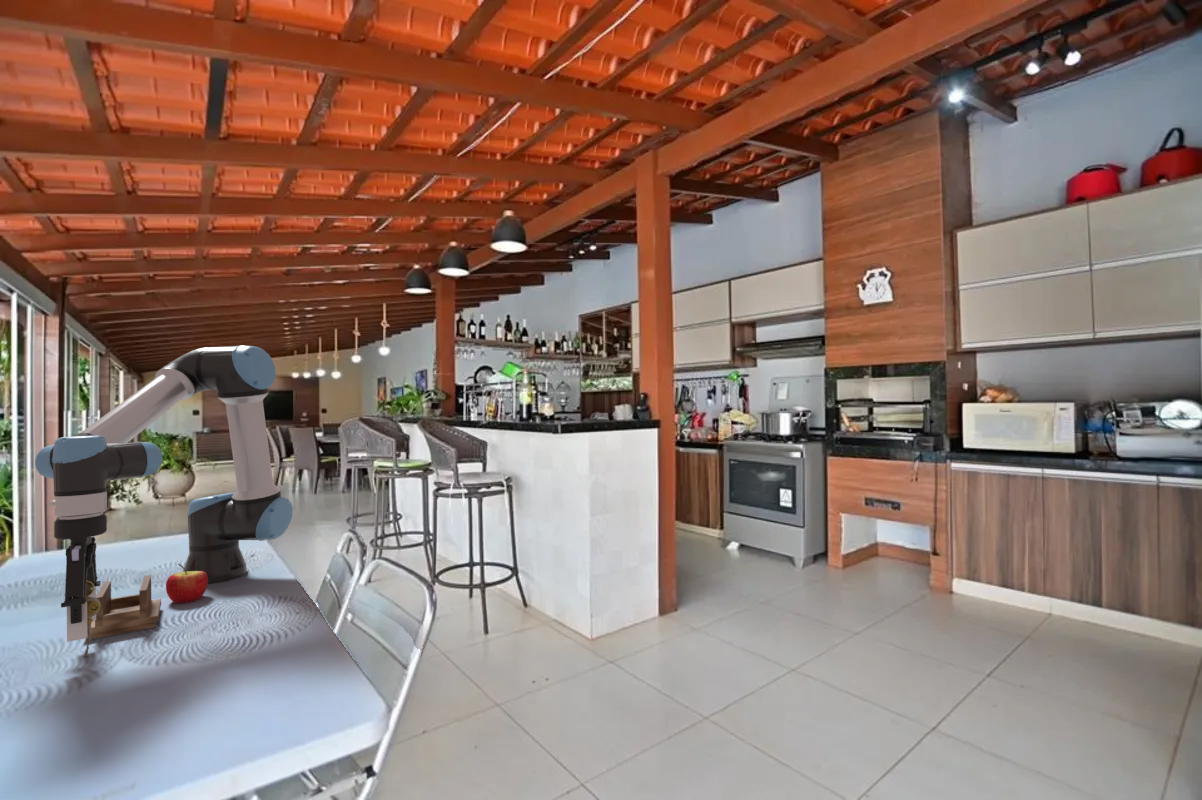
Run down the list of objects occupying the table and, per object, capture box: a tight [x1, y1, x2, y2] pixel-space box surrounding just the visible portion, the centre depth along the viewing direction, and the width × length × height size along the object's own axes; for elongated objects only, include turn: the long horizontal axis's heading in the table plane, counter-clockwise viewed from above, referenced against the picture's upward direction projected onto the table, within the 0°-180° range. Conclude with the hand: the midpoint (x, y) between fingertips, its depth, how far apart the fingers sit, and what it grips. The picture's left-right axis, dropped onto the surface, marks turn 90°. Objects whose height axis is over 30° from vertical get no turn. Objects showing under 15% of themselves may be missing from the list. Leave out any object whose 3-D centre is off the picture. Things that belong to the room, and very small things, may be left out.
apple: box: [165, 563, 209, 604], centre depth 141 cm, size 8×8×10 cm
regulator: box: [72, 581, 101, 658], centre depth 109 cm, size 8×4×15 cm, turn 71°
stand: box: [86, 574, 162, 641], centre depth 125 cm, size 12×14×9 cm
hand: (82, 630), depth 109 cm, fingers open, 10 cm apart
